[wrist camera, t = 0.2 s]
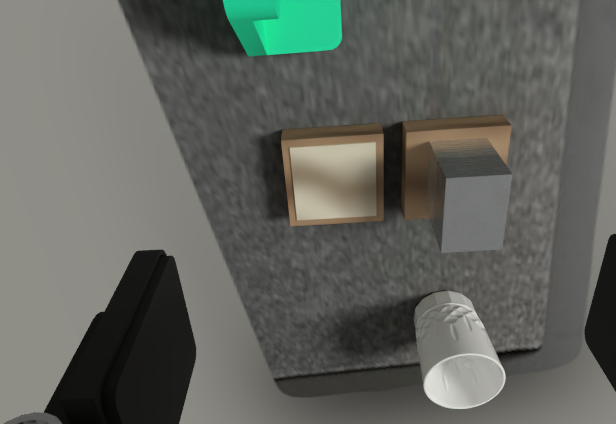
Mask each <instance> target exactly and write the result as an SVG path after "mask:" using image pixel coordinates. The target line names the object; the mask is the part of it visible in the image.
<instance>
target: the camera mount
mask: <svg viewBox="0 0 616 424" xmlns="http://www.w3.org/2000/svg"><path fill="white" fill-rule="evenodd" d="M223 3H224V8H225V12H226V15H227V18H228V20H229V22H230V24H231V26H232V27H233V29H234V31H235V33H236V35H237V36H238V38H239V40H240V42H241V44H242V46H243V47H244V49H245V51H246V53H247V55H248V56H262V55H274V54H286V53H299V52H311V51H323V50H332V49H334V48H336V47H337V46H338V45H339V44H340V42H341V39H342V25H341V4H340V0H223Z"/></svg>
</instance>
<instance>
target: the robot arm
mask: <svg viewBox="0 0 616 424" xmlns="http://www.w3.org/2000/svg"><path fill="white" fill-rule="evenodd" d="M585 340H586V343H587V345H588V347H589V349H590V350H591V352H592V353H593V355H594V357H595V358H596V360H597V362H598V363H599V365H600V367H601V368H602V370H603V372H604V373H605V375H606V376H607V378H608V380H609V381H610V383H611V385H612V386H613V388H614V390H615V391H616V234H613V235H611V236H610V238H609V240H608V243H607V247H606V251H605V255H604V259H603V262H602V266H601V270H600V273H599V278H598V281H597V285H596V288H595V292H594V296H593V300H592V304H591V307H590V311H589V315H588V319H587V323H586V326H585ZM195 360H196V345H195V341H194V337H193V332H192V328H191V324H190V320H189V316H188V312H187V307H186V303H185V300H184V295H183V291H182V287H181V283H180V279H179V275H178V271H177V266H176V262H175V259H174V257H173V256H166V253H165V252H164V250H145V251H137V252H136V253H135V254H134V255H133V257H132V259H131V261H130V263H129V265H128V267H127V269H126V271H125V273H124V275H123V277H122V279H121V281H120V283H119V285H118V287H117V288H116V291H115V292H114V294H113V296H112V298H111V300H110V302H109V304H108V306H107V308H106V310H105V312H100V313H98V314H97V315H96V316H95V318H94V319H93V321H92V323H91V324H90V326H89V328H88V330H87V332H86V334H85V336H84V338H83V339H82V341H81V343H80V345H79V347H78V349H77V351H76V353H75V354H74V356H73V358H72V360H71V362H70V364H69V366H68V368H67V370H66V372H65V373H64V375H63V377H62V379H61V381H60V383H59V385H58V387H57V388H56V390H55V392H54V394H53V396H52V398H51V400H50V402H49V404H48V405H47V407H46V409H45V411H44V413H30V414H25V415H21V416H19V417H16V418H14V419H12V420H10V421H7V422H6V423H4V424H179V421H180V418H181V414H182V410H183V406H184V402H185V399H186V394H187V391H188V387H189V383H190V379H191V375H192V372H193V368H194V364H195Z"/></svg>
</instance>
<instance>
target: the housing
mask: <svg viewBox="0 0 616 424" xmlns="http://www.w3.org/2000/svg"><path fill="white" fill-rule="evenodd" d="M512 175H513V174H512V173H511V171H510V170H509V168H508V167H507V166H506V164H505V163H504V161H503V160H502V158H501V157H500V156H499V154H498V153H497V151H496V150H495V148H494V147H493V146H492V144H491V143H490V141H489V140H488V138H473V139H458V140H442V141H429V157H428V178H427V200H426V211H427V214H428V216H429V219H430V222H431V225H432V228H433V231H434V234H435V237H436V239H437V242H438V245H439V248H440V251H441V253H445V252H463V251H482V250H500V249H502V246H503V239H504V232H505V225H506V218H507V211H508V203H509V196H510V189H511V182H512Z"/></svg>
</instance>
